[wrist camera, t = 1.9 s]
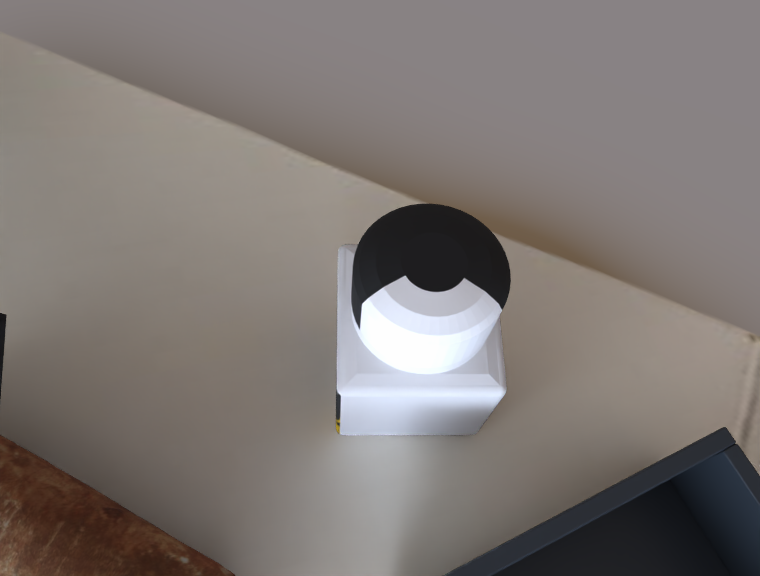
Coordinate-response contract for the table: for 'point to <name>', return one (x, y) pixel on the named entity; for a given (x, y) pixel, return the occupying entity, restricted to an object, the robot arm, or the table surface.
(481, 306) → the medicine bottle
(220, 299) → the table surface
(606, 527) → the open box
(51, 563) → the brown cylinder
